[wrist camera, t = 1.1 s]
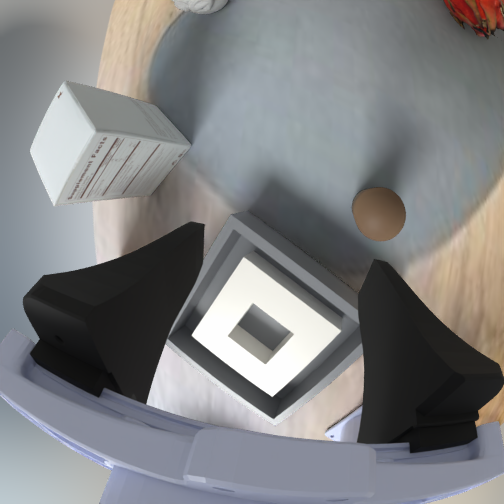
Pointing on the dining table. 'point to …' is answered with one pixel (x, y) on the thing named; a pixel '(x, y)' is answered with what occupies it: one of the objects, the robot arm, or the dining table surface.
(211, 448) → the robot arm
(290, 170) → the dining table surface
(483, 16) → the dragon fruit
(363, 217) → the peg
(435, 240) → the dining table surface
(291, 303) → the square hole block
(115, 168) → the supplement box
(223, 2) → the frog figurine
